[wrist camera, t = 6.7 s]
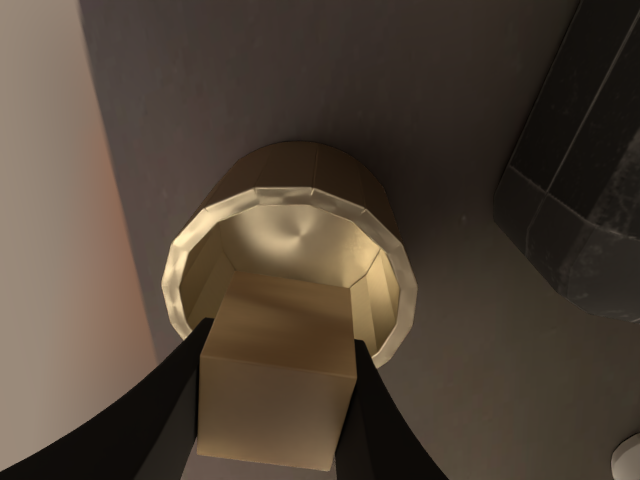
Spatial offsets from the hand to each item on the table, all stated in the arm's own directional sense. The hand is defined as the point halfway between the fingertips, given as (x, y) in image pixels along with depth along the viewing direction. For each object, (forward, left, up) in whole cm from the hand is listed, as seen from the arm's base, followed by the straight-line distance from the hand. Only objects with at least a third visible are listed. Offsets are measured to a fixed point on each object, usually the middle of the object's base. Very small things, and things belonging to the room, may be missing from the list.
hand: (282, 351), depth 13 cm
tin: (0, 0, -9) cm, 9 cm away
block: (0, 0, -1) cm, 1 cm away
